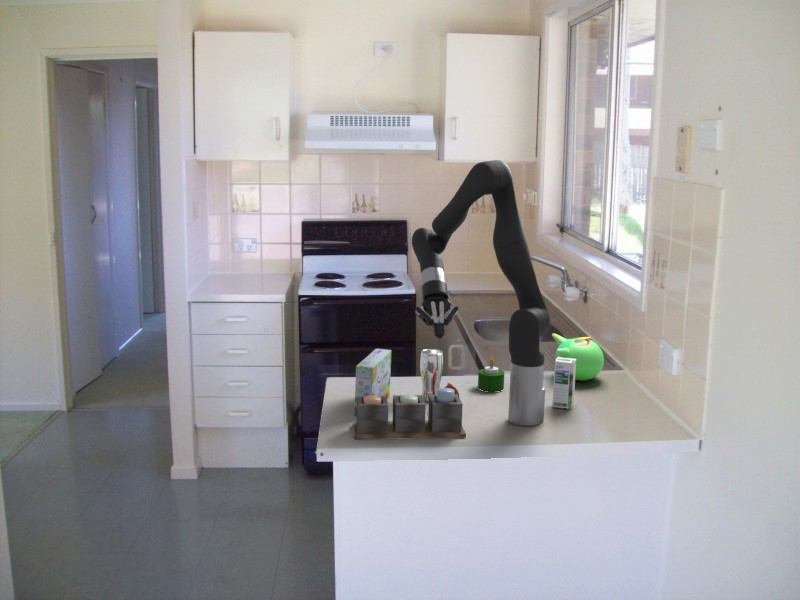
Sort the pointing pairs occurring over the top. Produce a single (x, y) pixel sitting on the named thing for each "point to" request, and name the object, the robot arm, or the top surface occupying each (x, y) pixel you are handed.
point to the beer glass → (431, 371)
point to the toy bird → (581, 355)
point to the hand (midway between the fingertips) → (439, 336)
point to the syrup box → (564, 383)
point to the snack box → (373, 375)
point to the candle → (491, 378)
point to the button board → (409, 419)
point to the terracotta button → (372, 399)
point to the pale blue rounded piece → (445, 395)
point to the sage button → (408, 399)
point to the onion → (452, 388)
